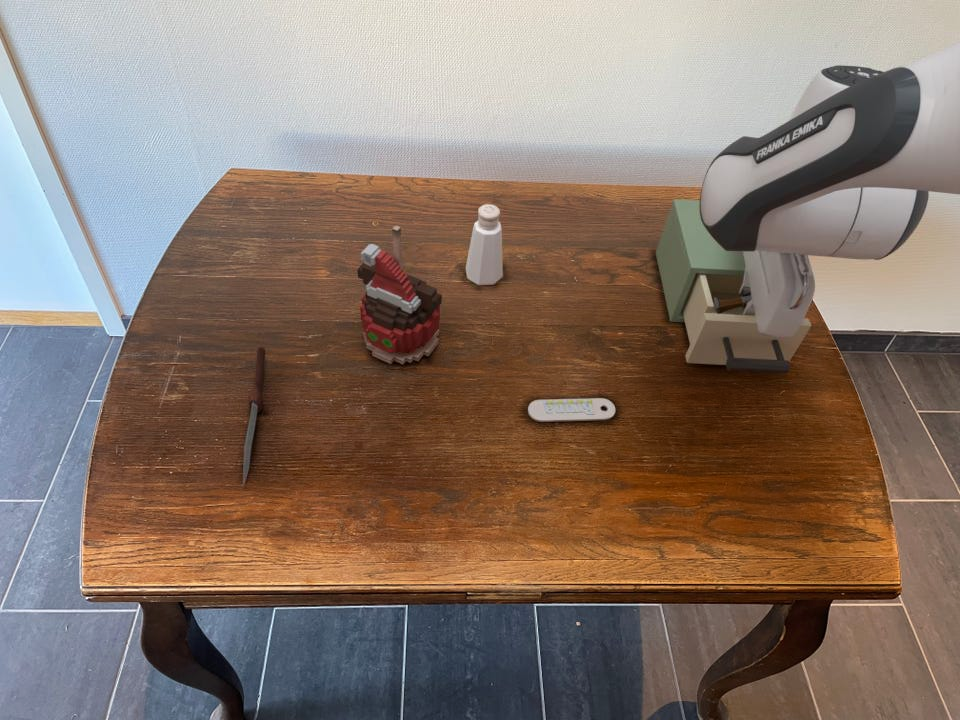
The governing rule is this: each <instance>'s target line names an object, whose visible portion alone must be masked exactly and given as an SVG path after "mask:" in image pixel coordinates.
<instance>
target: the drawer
mask: <svg viewBox="0 0 960 720" xmlns="http://www.w3.org/2000/svg"><path fill="white" fill-rule="evenodd" d="M743 278H744V276H738V275H721V274H703V273H696V275H695V277H694V280H693V282H692V285H691V287H690V290H689V292H688V295H687V297H686V300H685V302H684V305H683V307H682V312H683V316H684V320H685V322H684V323H685V329H686V333H687V337H688V342H689V347H688V349H687V351H686V352H685V361H686V363H687V364H698V365H699V364H700V365H701V364H702V365H718V366H721V365H722V366H725V367H726V370H727V371H734V372H735V371H736V372H737V371H738V372H756V373H757V372H758V373H774V374H776V373H777V374H788V373H790V370H791V360H792V358H793V356H794V355H795V353H797V350H798V348H799V347H800V345H801V344H802V342H803V341H804V339H805V337H806V336H807V334H808V332H809V331H810V330H811V328H812V323H811V320H810V319H809V318H806V317H804V319H803V321H802V323H801V325H800V327H799V329H798V331H797V332H796V334H795V335H794V336H793V337H790V338H776V337H770V336H764V335H761V334H760V333H759V331H758V326H757V321H756V316H751V315H743V309H742V307H743V306H742V307H738V308H734V309H731V310H728V311H725V312H723V313H720V314H717V313H716V307H715V301H714V298H717V300H734V299H740V294H739V291H740V288H741V286H742V284H743Z"/></svg>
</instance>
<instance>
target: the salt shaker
mask: <svg viewBox="0 0 960 720" xmlns="http://www.w3.org/2000/svg"><path fill="white" fill-rule="evenodd" d="M477 213H478V217H477V218H478V219H477V221H475V222H474V224H473V226H472V227H473V228H472V232H471V237H470V243H469V248H468V254H467V258H466V263H465V274H466V278H467V280H469V281H471V282H472V283H474V284H475V285H477V286H494V285H495V284H496V283H497V282H499V281H500V280H501V279H502V278H503V277H504V270H503V266H504V265H503V232H502V231H503V230H502V224H501V222H500V221H499V220H500V215H501V210H500V208H499V207H498V206H496V205H495V204H490V203H485V204H482V205H481V206H480V207H479V208H478V210H477Z"/></svg>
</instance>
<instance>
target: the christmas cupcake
mask: <svg viewBox="0 0 960 720" xmlns="http://www.w3.org/2000/svg"><path fill="white" fill-rule="evenodd" d="M391 232H392V233H391V234H392V246H393V248H392V250H393V251H392V252H393V255H390V254H388V253H387V251H386V250H383V249H381V248H380V246H379V245H376V244H374V243H370V244H368V245H367V246H366V247H365V248H364V249H363V250H362V251H361V252H360V260H361V261H362V262H363V263H361V265H360V266H359V267H357V268H356V269H357V277H358V279H361V280H362V283H363V285H365V293H364V295H363V296H362V297H361V306H360V307H359V311H360V321H361V323H362V328H363V330H364V331H363V333H362V337H363V338H364V343H365V348H366V349H368V350H369V351H372V352H371V354H372V355H371V356H372V357H374V358H376V359H379V360H381V361H383V362H386V363H388V364H389V365H391V364H392V363H394V362H396V363H399V364H401V365H404V364H405V363H406V362H407V363H410V364H411V363H412V362H413V361H416V362H419V361H420V360H421V359H422V357H423V356H426V357H429V356H430V355H431V354H432V352H433V351H434V350H435V349H436V347H437V346H438V344H439V343H440V338H438V336H439V335H440V317H441V305H442V301H443V295H442V294H440V293H439V292H438V289H437V288H436V287H434V286H432V285H428V284H427V281H426V280H423V279H420V278H418V277H415V276H413V275H410V274H407V273H406V272H405V271H404V269H403V246H402V245H403V244H402V227H401V226H398V225H394V226H393V227H392V229H391Z"/></svg>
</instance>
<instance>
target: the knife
mask: <svg viewBox="0 0 960 720" xmlns="http://www.w3.org/2000/svg"><path fill="white" fill-rule="evenodd" d="M265 361H266V348H265V347H263V346H259V347H257V350H256V363H255V376H254V382H253V387H252V389H250V390H251V391H250V393H249V396H248V405H249V409H250V416H249V421H248V425H247V426H248V427H247V431H246V436H245V440H244V449H243V468H242V469H243V471H242V473H243V474H242V482H243V483H242V486H243V488H244V486H245V484H246V481H247V477H248V473H249V470H250V461H251V454H252V449H253V444H254V437H255V431H256V430H255V429H256V425H257V424H256V422H257V416H258V415H257V414H259V413H260V412H261V411H262V408H263V404H264V402H263V397H262V392H263V385H264V376H265Z"/></svg>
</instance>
